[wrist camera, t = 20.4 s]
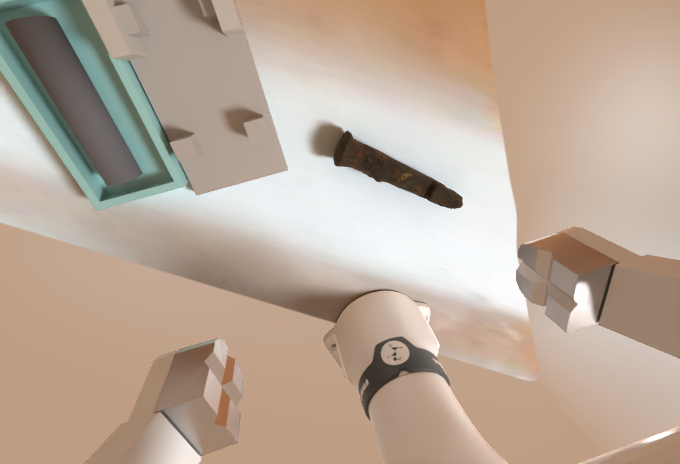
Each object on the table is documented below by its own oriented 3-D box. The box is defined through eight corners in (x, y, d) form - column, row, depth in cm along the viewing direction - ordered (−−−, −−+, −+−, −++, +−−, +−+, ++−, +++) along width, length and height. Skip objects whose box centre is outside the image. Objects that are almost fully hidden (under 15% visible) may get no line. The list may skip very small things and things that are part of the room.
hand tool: (328, 157, 38) (334, 168, 34) (343, 128, 36) (351, 134, 32) (440, 213, 45) (456, 226, 41) (456, 189, 43) (475, 201, 39)
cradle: (287, 167, 37) (289, 179, 33) (198, 192, 36) (188, 207, 32) (211, -73, 26) (199, -101, 22) (83, -45, 26) (46, -69, 21)
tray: (190, 179, 35) (184, 186, 33) (108, 201, 35) (96, 210, 33) (93, -20, 26) (76, -28, 24) (-21, 6, 26) (-49, -1, 24)
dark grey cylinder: (149, 170, 33) (127, 182, 30) (123, 175, 34) (98, 188, 31) (66, 18, 26) (27, 14, 23) (35, 28, 27) (-7, 26, 24)
